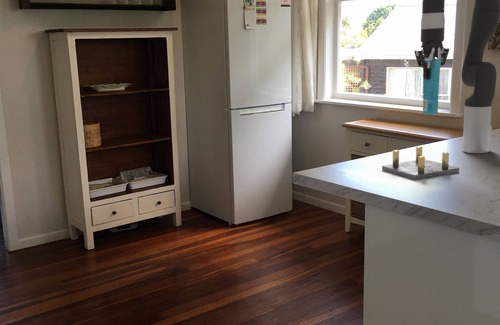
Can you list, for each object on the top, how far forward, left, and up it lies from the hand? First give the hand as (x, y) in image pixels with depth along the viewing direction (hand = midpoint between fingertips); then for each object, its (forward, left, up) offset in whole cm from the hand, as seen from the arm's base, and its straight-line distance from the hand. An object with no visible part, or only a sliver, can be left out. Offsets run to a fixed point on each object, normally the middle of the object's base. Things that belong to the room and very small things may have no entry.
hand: (431, 78), depth 184 cm
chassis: (+13, +10, -29) cm, 33 cm away
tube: (0, 0, -12) cm, 12 cm away
